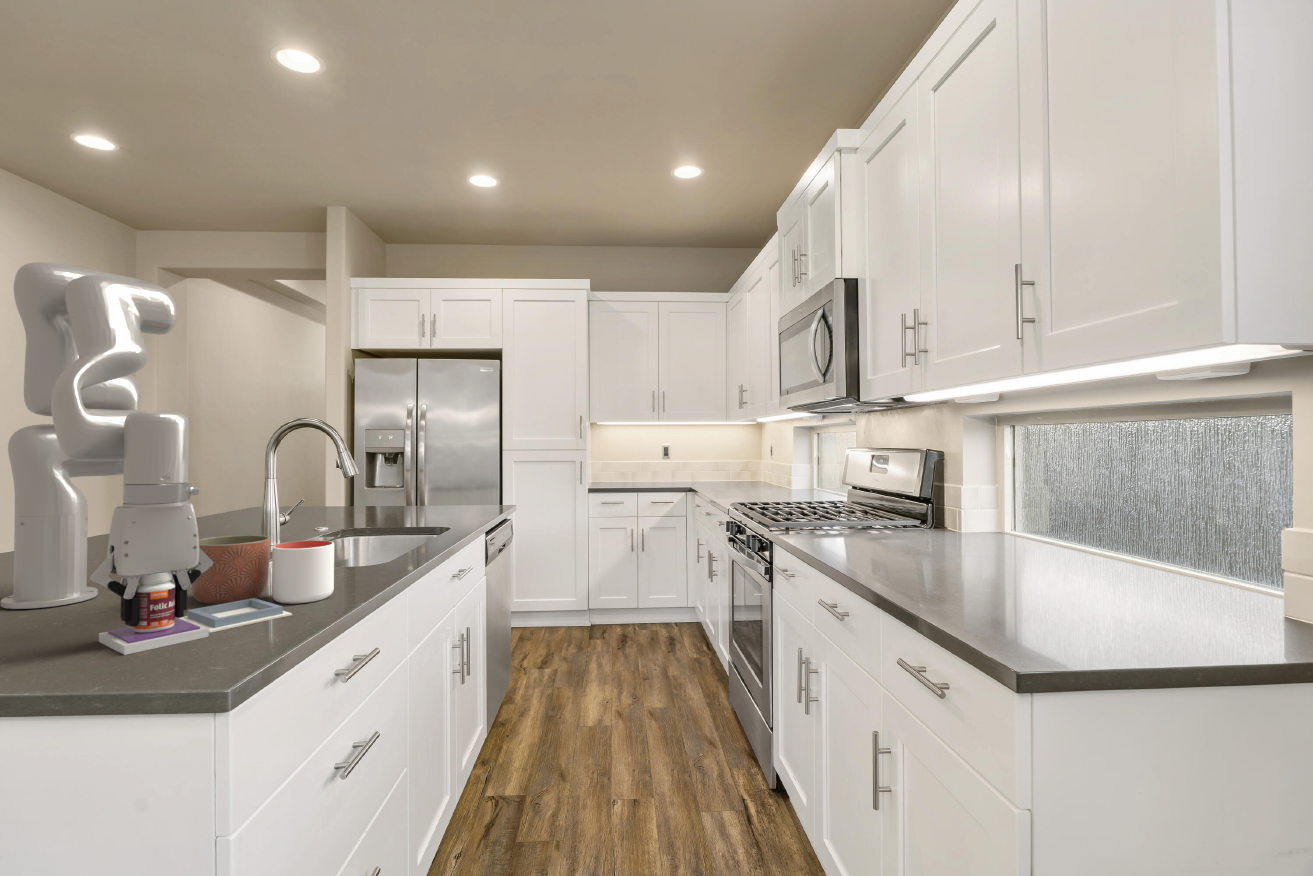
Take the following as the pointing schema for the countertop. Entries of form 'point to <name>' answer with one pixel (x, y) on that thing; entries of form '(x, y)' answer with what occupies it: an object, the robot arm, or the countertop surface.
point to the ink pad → (152, 637)
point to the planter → (233, 568)
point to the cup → (302, 571)
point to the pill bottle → (156, 602)
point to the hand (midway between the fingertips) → (154, 619)
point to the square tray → (235, 614)
